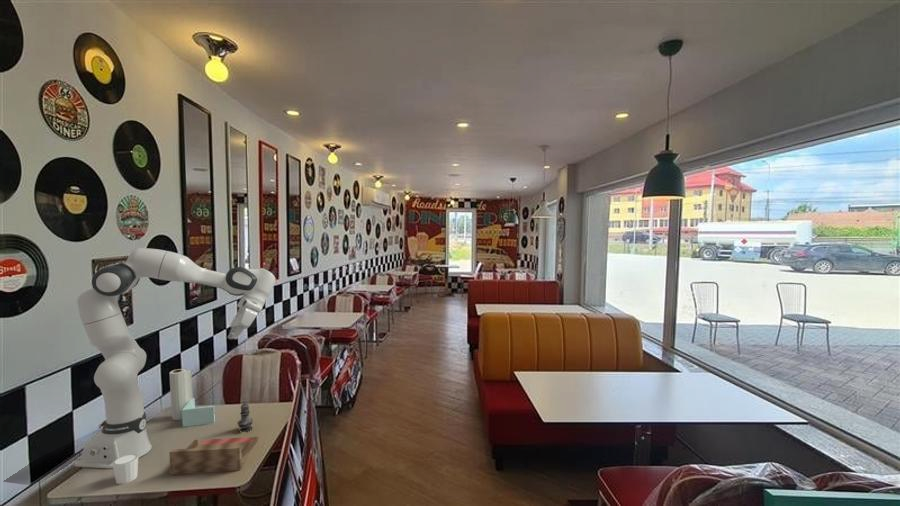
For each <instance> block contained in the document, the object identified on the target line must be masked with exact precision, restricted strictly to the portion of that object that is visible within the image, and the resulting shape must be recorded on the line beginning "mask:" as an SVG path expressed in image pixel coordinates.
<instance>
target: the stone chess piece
mask: <svg viewBox="0 0 900 506" xmlns="http://www.w3.org/2000/svg"><path fill="white" fill-rule="evenodd" d="M249 410H250V409H249V403H246V402H245V401H244V402H243V404H241V406H240V414H239V415H240V420H238V421H237V425H238V427H239V429H240V428H241V429H240V431H241V432H246V433H249V432H251V431H252V430H253V429H252V428H254V427H253V426H252V424H253V422H254V419H253V418H251V417H250V412H251V411H249ZM250 430H251V431H250ZM248 431H249V432H248Z"/></svg>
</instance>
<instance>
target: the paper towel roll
mask: <svg viewBox="0 0 900 506" xmlns="http://www.w3.org/2000/svg"><path fill="white" fill-rule="evenodd" d="M192 374H193V373H192V369H188V370H186V369H185V368H178V369H173V370H171V371H170V372H169V374H168V375H169V388H170V389H169V390H170V407H171V420H173V421H180V420H182V409H183V408H184V407H185V406H186V405H187V403H188V402H189V401H190V400H191V399H193V398H194V396H193V392H194V391H193V376H192Z"/></svg>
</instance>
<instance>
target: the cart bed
mask: <svg viewBox="0 0 900 506" xmlns="http://www.w3.org/2000/svg"><path fill="white" fill-rule="evenodd" d="M258 440H259V436H245V437H243V436H242V437H231V438H229V437H228V438H225V437H224V438H209V439H204V441H203V442H202V443H201V444H199V441H198V439H194V440H193V441H192V442H191V443H190V444H189V445H188V446H187V447H186V448H182V449H180V448H178V449H171V450H170V451H169V468H170V475H182V474H184V475H185V474H197V473H198V474H199V473H213V472H214V473H215V472H217V473H218V472H231V471H233V472H234V471H241V470H242V469H243V467H244V466H245V464H246V462H247V461H248V460H249V459H250V457H251V456H252V454H253V452H254V451H255V450H256V449H257V447H258Z"/></svg>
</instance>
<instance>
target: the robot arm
mask: <svg viewBox="0 0 900 506" xmlns="http://www.w3.org/2000/svg"><path fill="white" fill-rule="evenodd" d="M275 276H276V275H274V273H273V272H271V271H270V270H268V269H267V268H265V267H264V268H263V267H260V268H246V267H242V266H235V267H232V268H231V269H229V270H228V271H227V272H226V273H223V272H219V271H216V270H210V269H208V268H207V269H206V268H204V267H201V266H200V265H198V264H196V263H195V262H194V261H193V260H192V259H190V258H189V257H188V256H186V255H183V254H180V253H177V252H174V251H170V250H164V249H158V248H148V247H139V248H135V249H134V250H132V251H131V252H130V253H129V255H128V257H127V259H126V261H125V262H118V263H112V264H109V265H107V266H104V267H102V268H100V269H99V270H97V271H96V272H95V273H94V274H93V277H92V279H91V286H92V288H90V289H87V290H85V291H83V292H82V293H81V294H79V296H78V297H77V300H76V301H77V309H78V313H79V317H80V320H81V323H82V325H83V329H84V330H85V332H86V335H87V338H88V340H89V342H90V344H91V345H92V346H93V347H95V348H96V349H97V350H98V351H99V352H100V353H101V355H102V356H103V358H104V361H102V362H101V363H100V364H99V365H98V367H97V369H96V371H95V373H94V376H93V381H94V384H95V385H96V386H97V387H98V388H99V390H100V393H101V394H102V397H103V400H104V409H105V420H104V421H102V423H100V424H99V425H98V429H101V431H99V432H98V433H97V434H96V435H95V436H93V437H92V438H91V439H90V440H88V441H87V442H86V443H85V444H84V446H83V450H82V454H81V455H80V456H79V457H77V459H76V460H75V461H74V466H73V467H79V468H81V467H82V468H97V469H113V464H112V463H113V461H114V460H116V459H117V458H119V457H121V456H124V455H128V454H137V455H138V459H139V458H141V457H144V456H145V455H146V454H147V453H149V452H150V451H151V449H152V447H153V445H152V444H151V442H150V439H149V437H148V433H147V415H146V414H147V413H146V411H145V408H144V407H145V406H144V394H143V391H142V390H141V388H140V386H139V385H140V384H139V382H138V374H139V373H140V371H142V370H143V369H144V367H145V365H146V362H147V352H146V351H145V350H144V349H143V348H141V347H140V345H139V344H138V343H137V341H136V340H135V338H134V337H133V336H132V333H131V332H130V330H129V328H128V326H127V324H126V321H125V318H124V315H123V313H122V310H121V307H120V306H119V302H118V301H119V300H118V299H119V296H121V295H123V294H126V293H128V292H130V291H131V290H132V289H134V288H135V287H136V286H137V285H138V284H139V282H140V279H141V278H152V279H156V280H161V281H169V282H180V283H193V284H198V285H204V286H207V287H209V286H210V287H214V288H217V289H222V290H223V291H224V292H226V293H228V294H229V295H231V296H236V297H240V296H241V297H240V299H239V301H238V303H237V305H236V307H237V308H238V310H237V313H236V315H235V317H233V319H232V321H231V322H230V324H229V327H230V328H231V329H230V331H229V333H228V335H227V339H229V340H238V338H239V336H240V335H241V334H242V333H243V331H244V330H246V329H249V327H251V325H252V324H253V322H254V321H255V319H256V317H257V316H258V315H260V313H261V312H262V311H263V307H264V306H265V303H266V299H267V298H268V297H269V296H270V294H271V292H272V290H273V289H274V286H275V284H276V277H275Z"/></svg>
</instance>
